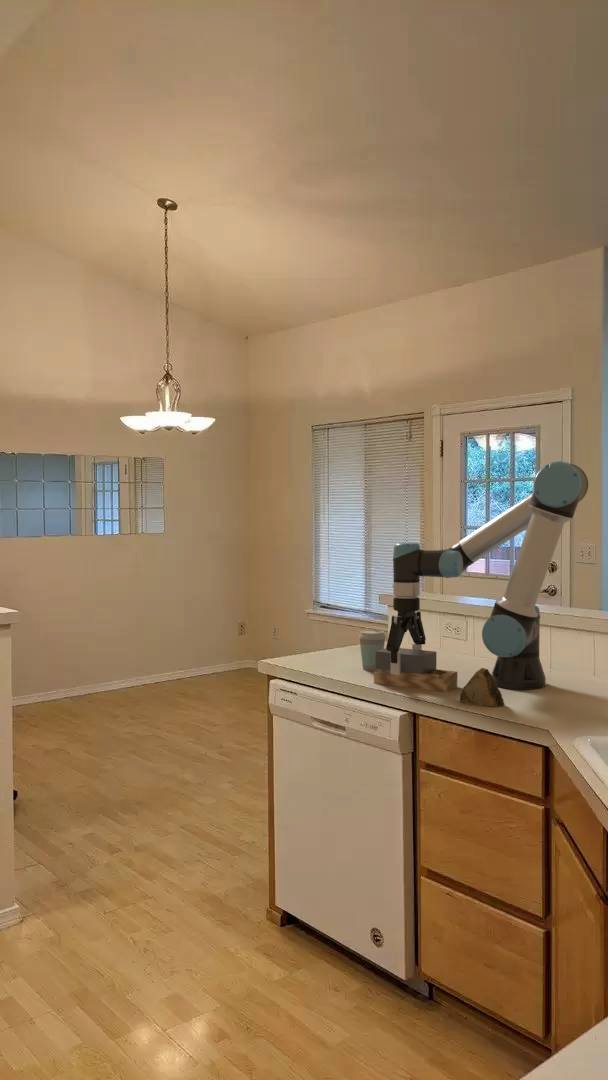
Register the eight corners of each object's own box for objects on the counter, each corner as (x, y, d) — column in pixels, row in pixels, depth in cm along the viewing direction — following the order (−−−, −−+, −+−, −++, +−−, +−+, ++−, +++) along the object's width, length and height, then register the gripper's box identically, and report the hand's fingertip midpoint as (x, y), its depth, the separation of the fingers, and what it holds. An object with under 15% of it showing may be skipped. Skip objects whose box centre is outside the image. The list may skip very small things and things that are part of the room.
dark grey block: (436, 681, 245) (436, 651, 244) (422, 686, 237) (422, 656, 237) (390, 675, 253) (390, 647, 253) (375, 680, 246) (375, 651, 245)
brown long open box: (457, 687, 241) (457, 671, 240) (445, 692, 234) (445, 676, 234) (386, 678, 253) (386, 663, 253) (373, 683, 247) (373, 668, 246)
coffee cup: (384, 672, 262) (384, 634, 262) (356, 671, 264) (356, 633, 264) (387, 667, 271) (387, 630, 270) (360, 666, 272) (360, 629, 272)
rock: (447, 693, 223) (471, 695, 214) (461, 665, 226) (485, 666, 217) (476, 715, 226) (500, 718, 217) (490, 687, 229) (514, 689, 220)
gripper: (414, 592, 257) (414, 662, 257) (373, 600, 236) (373, 676, 237) (437, 593, 252) (437, 664, 253) (398, 601, 232) (398, 679, 233)
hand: (406, 670), depth 245 cm, fingers open, 13 cm apart
